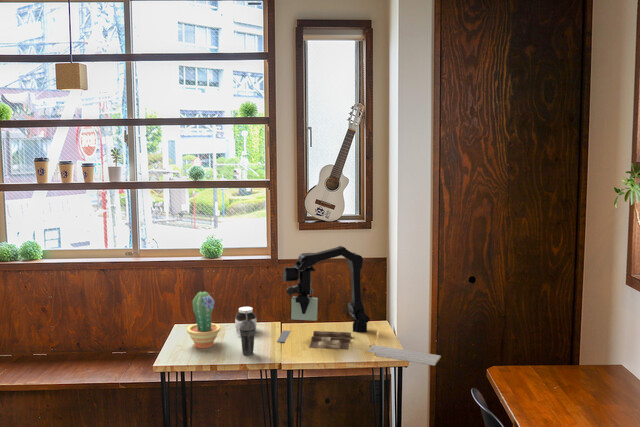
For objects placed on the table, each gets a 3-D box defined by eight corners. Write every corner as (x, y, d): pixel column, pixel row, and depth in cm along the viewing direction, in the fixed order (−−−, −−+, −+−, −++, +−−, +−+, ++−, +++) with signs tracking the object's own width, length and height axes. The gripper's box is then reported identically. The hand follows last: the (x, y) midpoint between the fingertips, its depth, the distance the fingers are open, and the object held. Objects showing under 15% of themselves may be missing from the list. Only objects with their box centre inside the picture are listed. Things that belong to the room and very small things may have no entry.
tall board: (317, 318, 288) (317, 297, 287) (316, 320, 284) (316, 299, 283) (292, 316, 289) (292, 296, 288) (291, 319, 285) (291, 298, 284)
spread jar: (252, 327, 304) (251, 305, 303) (261, 334, 295) (261, 311, 293) (229, 331, 298) (229, 308, 297) (238, 338, 289) (238, 314, 287)
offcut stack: (340, 345, 277) (340, 337, 277) (339, 348, 273) (339, 340, 273) (318, 344, 279) (318, 336, 278) (317, 347, 275) (317, 339, 274)
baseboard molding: (433, 368, 254) (440, 358, 265) (434, 361, 254) (440, 352, 264) (364, 356, 267) (374, 348, 278) (364, 350, 267) (374, 341, 277)
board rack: (351, 338, 289) (351, 332, 289) (348, 351, 272) (348, 345, 271) (313, 336, 291) (313, 330, 291) (308, 349, 274) (308, 343, 273)
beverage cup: (258, 352, 270) (258, 308, 268) (251, 357, 263) (251, 313, 261) (244, 350, 273) (243, 307, 270) (236, 355, 266) (236, 311, 263)
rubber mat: (311, 332, 297) (311, 331, 297) (306, 343, 281) (306, 342, 281) (283, 331, 298) (283, 330, 298) (276, 342, 283) (276, 341, 283)
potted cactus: (187, 351, 270) (185, 297, 267) (186, 340, 285) (185, 288, 282) (222, 348, 274) (221, 295, 271) (219, 337, 289) (218, 286, 286)
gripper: (291, 275, 295) (290, 306, 296) (284, 284, 276) (284, 317, 278) (313, 276, 293) (313, 307, 295) (309, 285, 275) (308, 318, 277)
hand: (304, 312), depth 286 cm, fingers closed on tall board, 4 cm apart
